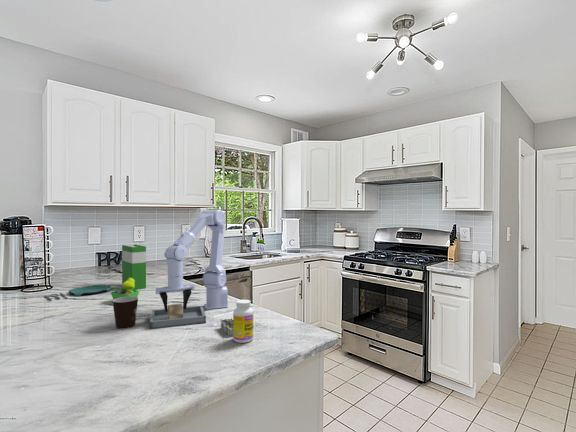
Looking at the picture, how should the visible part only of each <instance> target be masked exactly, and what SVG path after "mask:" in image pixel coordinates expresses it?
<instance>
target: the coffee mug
mask: <svg viewBox="0 0 576 432" xmlns="http://www.w3.org/2000/svg"><path fill="white" fill-rule="evenodd" d="M138 302H139V297H121V298H116V299H114V300H113V299H112V308H113V315H114V322H115V328H116V329H117V330H118V329H119V330H124V329H125V330H126V329H129V328H133V327H134V326H136V320H137V319H136V318H137V312H138V311H137V309H138Z"/></svg>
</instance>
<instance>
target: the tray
mask: <svg viewBox="0 0 576 432" xmlns="http://www.w3.org/2000/svg"><path fill="white" fill-rule="evenodd" d="M206 323H207V316H206V313H205V309H204V307H203V305H195V306H193V305H192V306H186V309H184V308H183V318H177V319H168V311H167V312H165V308H162V309H152V310H151V314H150V319H149V329H150V330H153V329H160V328H161V329H162V328H171V327H181V326H188V325H190V326H191V325H198V324H206Z"/></svg>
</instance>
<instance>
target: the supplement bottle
mask: <svg viewBox="0 0 576 432" xmlns="http://www.w3.org/2000/svg"><path fill="white" fill-rule="evenodd" d="M235 304H236V305H235V306H236V308H235V309H234V310H233V312H232V313H233V315H232V317H233V318H232V320H233V336H232V339H233V341H234V342H236V343H240V344H246V343H249V342H250V343H251V342H252V341H253V339H254V310H253V308H252V307H251V304H252V303H251V300H249V299H238V300H236V303H235Z"/></svg>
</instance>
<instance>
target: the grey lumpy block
mask: <svg viewBox="0 0 576 432" xmlns="http://www.w3.org/2000/svg"><path fill="white" fill-rule="evenodd" d="M219 321H220V330H221V331H223V332H224V333H225V334H227V336H230V337H231V336H232V337H233V318H224V319H223V318H221V319H220V318H219Z"/></svg>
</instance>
